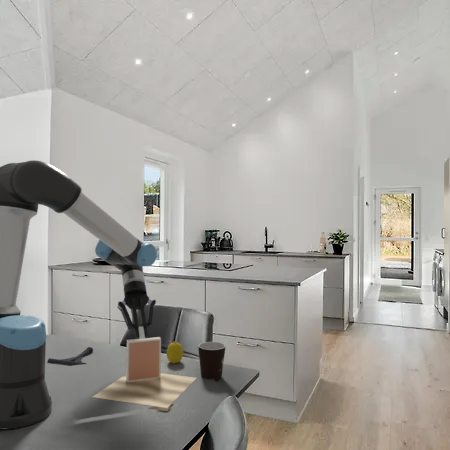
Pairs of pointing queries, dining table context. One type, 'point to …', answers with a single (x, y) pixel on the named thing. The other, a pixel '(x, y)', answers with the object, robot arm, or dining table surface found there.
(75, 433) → the dining table surface
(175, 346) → the lemon
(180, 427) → the dining table surface
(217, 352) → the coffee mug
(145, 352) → the tile
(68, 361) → the dark grey forked piece
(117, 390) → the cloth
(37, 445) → the dining table surface
